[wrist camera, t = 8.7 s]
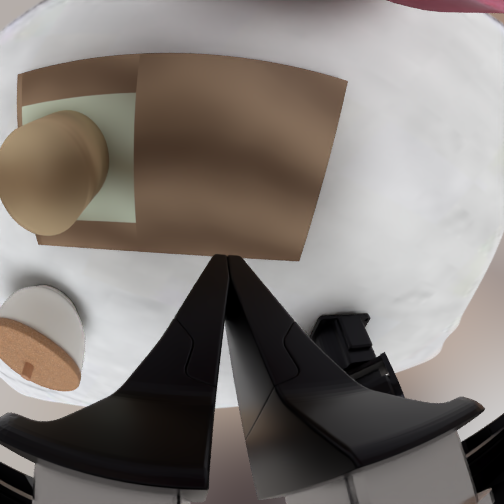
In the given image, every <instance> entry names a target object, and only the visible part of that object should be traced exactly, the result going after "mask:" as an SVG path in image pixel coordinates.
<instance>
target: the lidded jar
mask: <svg viewBox="0 0 504 504" xmlns="http://www.w3.org/2000/svg"><path fill="white" fill-rule="evenodd" d="M84 356H85V333H84V328H83V325H82V322H81V320H80V318H79V316H78V314H77V310H76V307H75V306H74V304H73V303H72V301H71V300H70V299H69V298H68V297H67V296H66V295H65V294H64V293H62V292H61V291H59V290H58V289H56V288H54V287H51V286H48V285H37V286H30V287H25V288H22V289H20V290H18V291H16V292H15V293H13V294H12V295H11V296H10V297H9V298H8V299H7V300H6V301H5V302H4V303H3V305H2V306H1V307H0V358H1V359H2V360H3V361H4V362H5V363H6V364H7V365H8V366H9V367H10V368H11V369H13V370H14V371H15V372H17V373H18V374H20V375H21V376H22V377H23V378H24V379H26V380H28V381H32V382H34V383H36V384H38V385H40V386H43V387H46V388H49V389H53V390H58V391H72V390H74V389H76V388H77V387H78V386H79V384H80V380H81V370H82V367H83V362H84Z"/></svg>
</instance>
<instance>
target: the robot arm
mask: <svg viewBox="0 0 504 504" xmlns="http://www.w3.org/2000/svg"><path fill="white" fill-rule="evenodd" d="M369 320H370V316H369V315H368V314H363V315H337V316H322V317H320V318H319V319H318V321H317V323H316V325H315V327H314V329H313V331H312V333H311V335H310V337H308V336H307V334H306V333H305V332H304V331H303V330H302V329H301V328H300V326H299V325H298V324H297V323H296V322H294V319H293V318H292V317H291V316H290V315H289V314H288V312H287V311H286V310H285V309H284V308H283V306H282V305H281V304H280V303H279V302H278V300H277V299H276V298H275V297H274V296H273V295H272V293H271V292H270V291H269V290H268V289H267V287H266V286H265V285H264V284H263V283H262V281H261V280H260V279H259V278H258V277H257V275H256V274H255V273H254V272H253V271H252V269H251V268H250V267H249V266H248V265H247V263H246V262H245V261H244V260H243V258H242V257H241V256H239V255H228V256H227V255H224V254H214V255H213V257H212V258H211V260H210V261H209V263H208V265H207V266H206V268H205V269H204V271H203V272H202V274H201V276H200V277H199V279H198V280H197V282H196V283H195V285H194V287H193V288H192V290H191V291H190V293H189V295H188V296H187V298H186V299H185V301H184V303H183V304H182V306H181V307H180V309H179V311H178V312H177V314H176V315H175V317H174V319H173V320H172V322H171V323H170V325H169V327H168V328H167V330H166V331H165V333H164V334H163V336H162V337H161V339H160V340H159V341H158V343H157V344H156V345H155V347H154V348H153V349H152V350H151V352H150V353H149V354H148V355H147V357H146V358H145V359H144V360H143V361H142V363H141V364H140V365H139V366H138V367H137V369H136V370H135V371H134V372H133V373H132V375H131V376H130V377H129V378H128V379H127V381H126V382H125V383H124V384H123V385H122V386H121V387H120V388H119V389H118V390H117V391H116V392H115V393H113V394H112V395H110V396H108V397H106V398H104V399H102V400H100V401H98V402H96V403H94V404H92V405H89V406H87V407H85V408H83V409H81V410H79V411H76V412H74V413H72V414H69V415H67V416H65V417H63V418H60V419H57V420H53V421H35V420H31V419H29V418H26V417H23V416H21V415H18V414H15V413H6V414H4V415H3V416H1V417H0V444H1V445H3V446H4V447H6V448H8V449H10V450H11V451H13V452H15V453H17V454H18V455H20V456H22V457H24V458H26V459H28V460H30V461H32V462H34V463H35V469H34V478H32V477H30V476H28V475H26V474H24V473H22V472H20V471H18V470H16V469H13V468H12V467H10V466H8V465H6V464H4V463H2V462H0V504H191V502H205V499H206V496H207V493H208V489H209V472H210V459H211V447H212V433H213V422H214V412H215V402H216V392H217V383H218V374H219V365H220V356H221V348H222V339H223V331H224V323H225V327H226V333H227V340H228V346H229V352H230V359H231V365H232V371H233V377H234V382H235V388H236V394H237V399H238V405H239V410H240V416H241V421H242V427H243V431H244V437H245V440H246V447H247V452H248V457H249V462H250V466H251V471H252V476H253V480H254V485H255V489H256V494H257V498H258V500H261V499H270V498H277V497H285V500H286V504H504V413H503V414H502V415H501V416H499V417H498V418H497V419H495V420H494V421H492V422H491V423H490V424H488V425H487V426H485V427H484V428H482V429H481V430H479V431H478V432H476V433H475V434H473V435H472V436H470V437H468V438H467V439H465V440H464V441H462V442H461V441H460V438H459V435H458V433H457V430H458V429H460V428H461V427H463V426H464V425H466V424H467V423H468V422H470V421H471V420H473V419H474V418H475V417H477V416H478V415H479V414H481V413H482V412H483V411H484V410H485V408H484V407H483V406H482V405H481V404H480V403H478V402H477V401H474V400H472V399H469V398H465V397H458V398H456V399H454V400H452V401H450V402H446V403H428V402H422V401H417V400H412V399H407V398H405V397H404V394H403V392H402V389H401V387H400V384H399V382H398V380H397V377H396V375H395V373H394V371H393V368H392V366H391V364H390V362H389V360H388V358H387V356H386V354H385V352H384V353H382V354H380V356H378V357H376V355H375V353H374V351H373V348H372V342H371V340H370V338H369V336H368V333H367V331H366V329H365V326H366V325H367V323H368V322H369ZM385 374H388V375H385Z"/></svg>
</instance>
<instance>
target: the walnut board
mask: <svg viewBox="0 0 504 504" xmlns="http://www.w3.org/2000/svg"><path fill="white" fill-rule="evenodd" d="M347 83H348V81H346V80H342V79H339V78H336V77H332V76H329V75H325V74H322V73H318V72H314V71H310V70H306V69H302V68H297V67H293V66H288V65H283V64H278V63H272V62H267V61H261V60H254V59H247V58H240V57H231V56H221V55H209V54H192V53H144V54H127V55H115V56H105V57H97V58H90V59H83V60H77V61H72V62H66V63H62V64H57V65H52V66H48V67H44V68H40V69H36V70H32V71H29V72H25V73H22V74H18V80H17V121H18V128H19V127H21V126H23V125H25V124H27V123H30V122H32V121H34V120H37V119H39V118H42V117H44V116H47V115H49V114H52V113H54V112H58V111H62V110H72V111H77V112H80V113H82V114H84V115H86V116H87V117H89V118H90V119H91V120H92V121H93V122H94V123H95V124H96V125H97V126H98V127H99V129H100V130H101V132H102V134H103V136H104V138H105V140H106V143H107V147H108V153H109V169H108V174H107V177H106V180H105V182H104V184H103V186H102V188H101V189H100V191H99V192H98V193H97V194H96V196H95V197H94V198H93V199H92V201H91V202H90V203H89V204H88V206H87V207H86V208H85V209H84V211H83V212H82V213H81V215H80V216H79V217H78V219H77V220H76V221H75V222H74V224H73V225H72V226H71V227H70V228H69V229H67V230H66V231H64V232H62V233H60V234H57V235H52V236H43V235H38V234H36V238H37V241H38V245H52V246H66V247H80V248H94V249H109V250H124V251H139V252H154V253H169V254H185V255H201V256H213V255H214V254H224V255H227V256H228V255H239V256H241V257H242V258H251V259H268V260H285V261H299V260H300V257H301V254H302V251H303V248H304V244H305V241H306V238H307V235H308V231H309V228H310V225H311V221H312V218H313V215H314V211H315V208H316V204H317V201H318V197H319V194H320V190H321V187H322V183H323V179H324V176H325V172H326V168H327V165H328V161H329V157H330V153H331V150H332V146H333V142H334V138H335V134H336V130H337V126H338V122H339V118H340V113H341V109H342V105H343V101H344V96H345V92H346V87H347Z"/></svg>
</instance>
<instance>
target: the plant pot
mask: <svg viewBox="0 0 504 504" xmlns="http://www.w3.org/2000/svg"><path fill="white" fill-rule="evenodd" d="M387 1H390V2H393V3H397V4H401V5H404V6H408V7H413V8H417V9H422V10H428V11H437V12H464V13H504V0H387Z"/></svg>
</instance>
